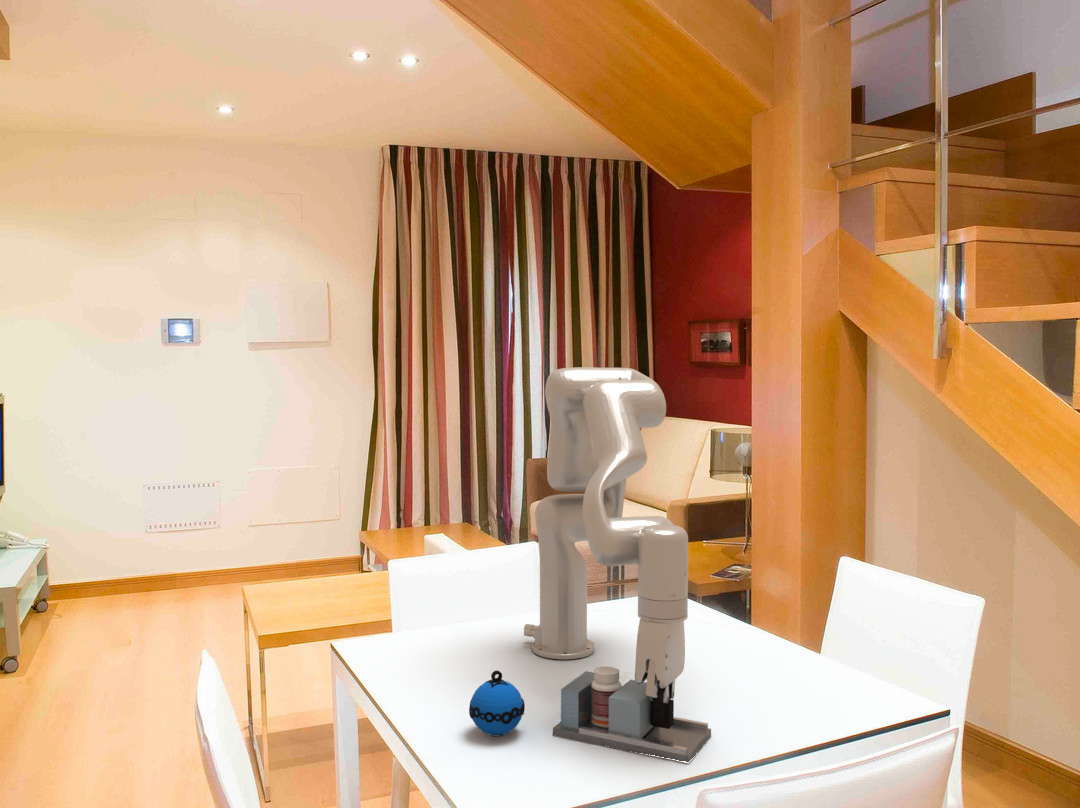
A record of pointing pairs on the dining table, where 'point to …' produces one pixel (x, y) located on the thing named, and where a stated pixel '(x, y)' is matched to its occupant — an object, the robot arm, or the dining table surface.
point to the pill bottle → (603, 694)
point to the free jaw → (630, 710)
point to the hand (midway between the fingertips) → (661, 725)
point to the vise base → (657, 741)
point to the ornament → (496, 706)
